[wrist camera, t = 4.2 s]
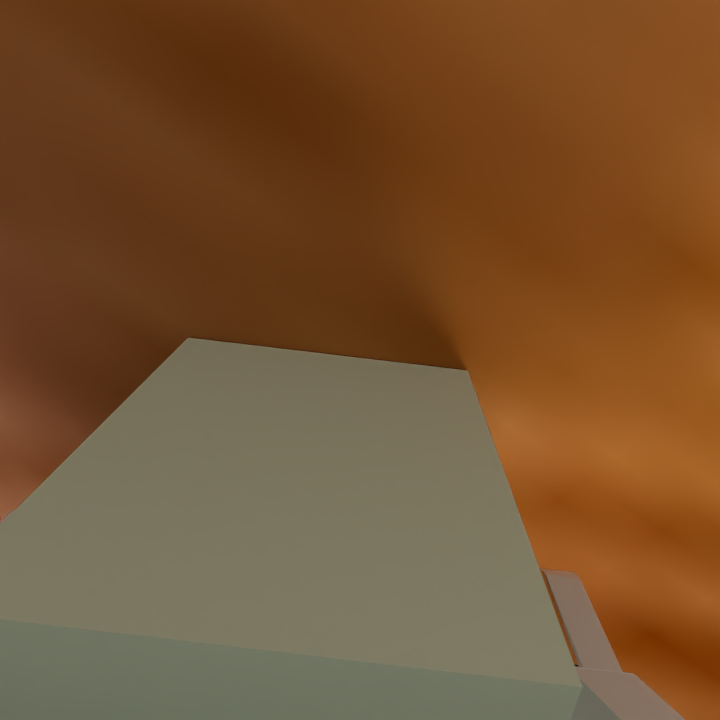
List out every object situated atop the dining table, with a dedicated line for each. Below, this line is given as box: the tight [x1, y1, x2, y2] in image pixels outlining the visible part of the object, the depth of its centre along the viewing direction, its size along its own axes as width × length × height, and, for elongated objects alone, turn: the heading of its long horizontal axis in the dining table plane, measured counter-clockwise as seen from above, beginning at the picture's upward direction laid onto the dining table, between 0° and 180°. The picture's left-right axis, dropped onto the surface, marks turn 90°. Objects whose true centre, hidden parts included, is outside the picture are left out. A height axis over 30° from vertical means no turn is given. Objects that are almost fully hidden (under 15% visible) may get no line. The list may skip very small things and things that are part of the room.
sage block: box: [0, 338, 582, 720], centre depth 8 cm, size 5×5×6 cm
